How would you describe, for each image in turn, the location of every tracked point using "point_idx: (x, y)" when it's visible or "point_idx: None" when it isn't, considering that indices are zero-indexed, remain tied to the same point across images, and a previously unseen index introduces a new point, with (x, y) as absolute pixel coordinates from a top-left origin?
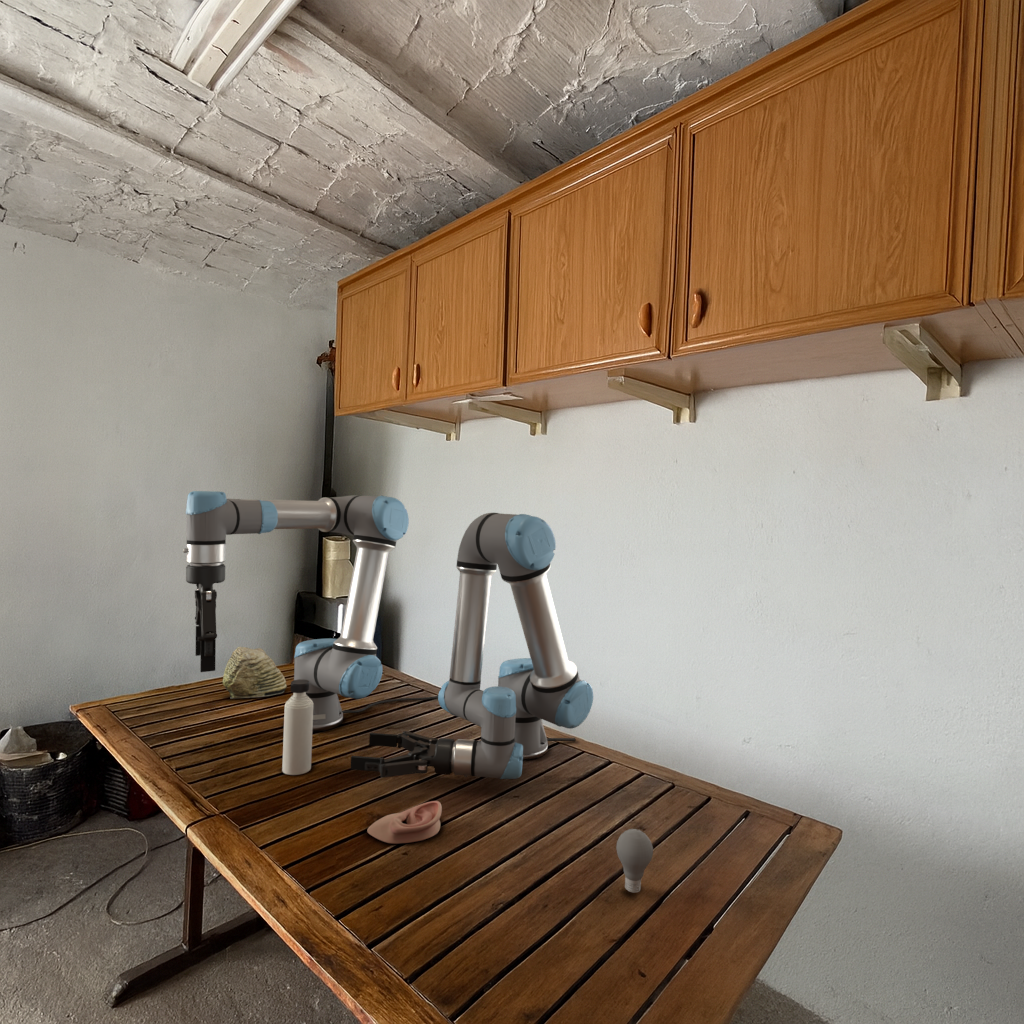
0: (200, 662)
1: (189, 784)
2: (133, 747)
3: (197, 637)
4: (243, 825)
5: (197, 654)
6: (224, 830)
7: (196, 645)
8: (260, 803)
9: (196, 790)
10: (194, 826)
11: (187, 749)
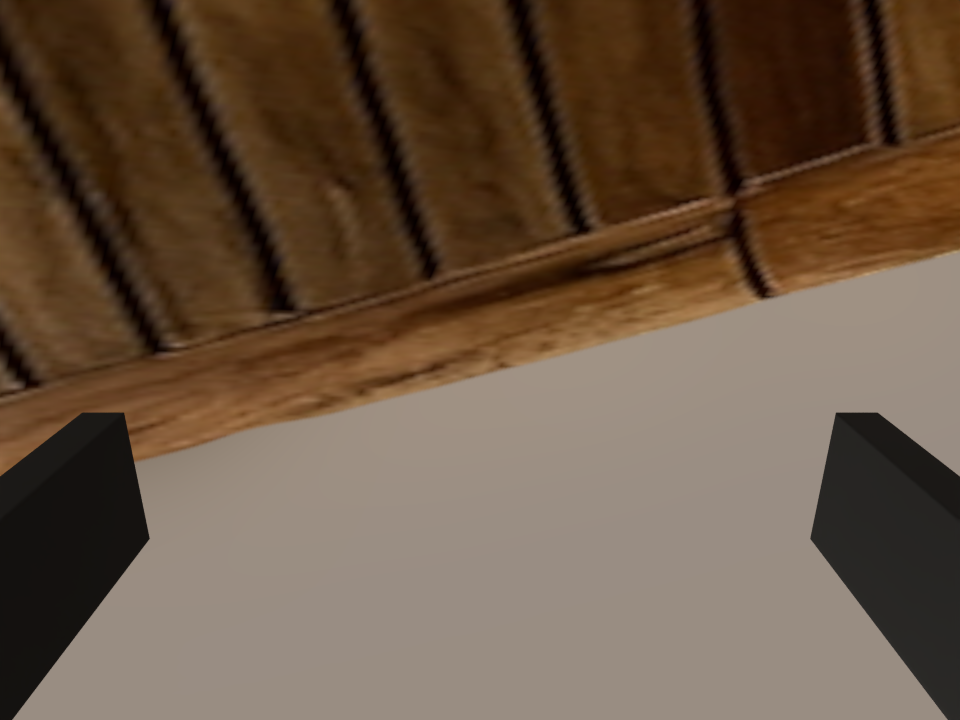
0: (862, 603)
1: (442, 275)
2: (15, 441)
3: (9, 697)
4: (870, 129)
5: (137, 531)
6: (866, 194)
7: (81, 616)
8: (735, 41)
9: (506, 256)
10: (781, 281)
11: (82, 261)
